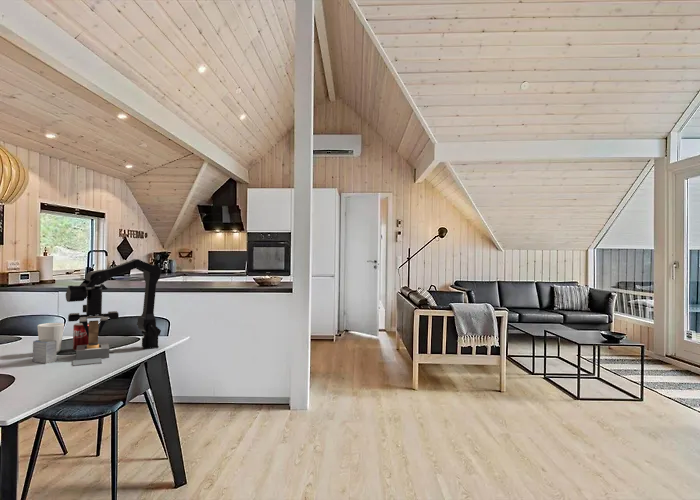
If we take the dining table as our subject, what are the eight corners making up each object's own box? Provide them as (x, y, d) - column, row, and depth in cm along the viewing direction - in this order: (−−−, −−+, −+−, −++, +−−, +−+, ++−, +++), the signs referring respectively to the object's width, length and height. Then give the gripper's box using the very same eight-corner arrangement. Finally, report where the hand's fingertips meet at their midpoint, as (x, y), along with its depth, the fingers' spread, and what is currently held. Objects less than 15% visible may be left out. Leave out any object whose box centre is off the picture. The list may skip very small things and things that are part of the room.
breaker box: (107, 351, 195) (108, 342, 195) (109, 357, 184) (109, 348, 184) (76, 354, 188) (76, 345, 188) (76, 360, 178) (76, 350, 178)
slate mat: (101, 358, 182) (101, 357, 182) (101, 363, 175) (101, 362, 175) (73, 361, 177) (73, 360, 177) (72, 366, 170) (72, 365, 170)
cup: (49, 356, 184) (50, 326, 184) (30, 354, 186) (31, 325, 186) (68, 351, 194) (69, 323, 194) (50, 349, 196) (51, 322, 196)
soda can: (82, 351, 194) (83, 325, 194) (68, 350, 195) (69, 324, 195) (94, 348, 201) (95, 322, 201) (81, 347, 202) (82, 322, 202)
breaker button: (98, 349, 190) (98, 343, 190) (99, 352, 186) (99, 345, 186) (86, 350, 187) (86, 344, 187) (86, 353, 183) (86, 346, 183)
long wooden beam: (97, 343, 189) (98, 320, 189) (97, 344, 186) (98, 321, 186) (88, 343, 187) (89, 320, 187) (88, 345, 184) (89, 322, 184)
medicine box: (56, 361, 177) (57, 340, 177) (45, 364, 172) (46, 342, 172) (43, 359, 179) (43, 338, 179) (32, 361, 175) (32, 340, 175)
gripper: (117, 297, 198) (116, 331, 198) (69, 299, 189) (68, 334, 188) (119, 300, 189) (118, 335, 189) (68, 301, 179) (67, 339, 179)
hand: (93, 336), depth 187 cm, fingers closed on long wooden beam, 3 cm apart
